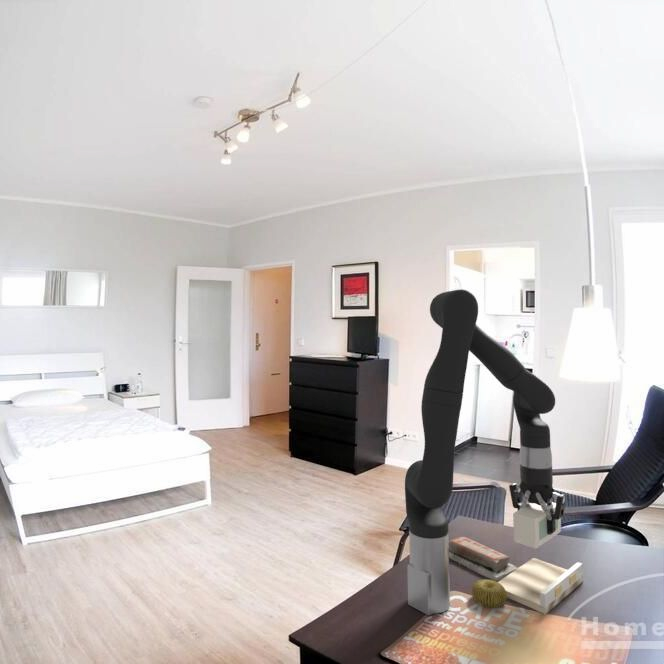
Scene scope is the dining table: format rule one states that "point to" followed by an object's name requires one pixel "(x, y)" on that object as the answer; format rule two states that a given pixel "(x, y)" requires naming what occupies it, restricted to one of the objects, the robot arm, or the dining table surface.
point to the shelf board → (534, 584)
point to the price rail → (561, 584)
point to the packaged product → (480, 558)
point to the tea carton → (533, 526)
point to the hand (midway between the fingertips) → (537, 529)
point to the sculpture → (489, 593)
